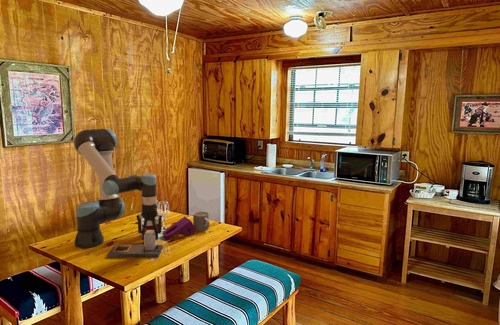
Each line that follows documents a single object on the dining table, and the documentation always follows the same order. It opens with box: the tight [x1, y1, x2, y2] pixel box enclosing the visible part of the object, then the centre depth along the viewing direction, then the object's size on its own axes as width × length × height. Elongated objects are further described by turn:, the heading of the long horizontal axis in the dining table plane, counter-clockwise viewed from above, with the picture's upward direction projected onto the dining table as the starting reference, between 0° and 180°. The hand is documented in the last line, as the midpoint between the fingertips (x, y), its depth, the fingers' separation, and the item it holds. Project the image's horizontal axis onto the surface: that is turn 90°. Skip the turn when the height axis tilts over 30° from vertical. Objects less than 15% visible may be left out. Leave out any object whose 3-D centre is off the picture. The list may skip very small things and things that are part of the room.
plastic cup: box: [141, 217, 159, 242], centre depth 201 cm, size 11×11×12 cm
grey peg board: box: [107, 244, 164, 258], centre depth 185 cm, size 26×12×2 cm, turn 93°
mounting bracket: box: [162, 216, 195, 240], centre depth 211 cm, size 10×8×18 cm
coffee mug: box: [192, 211, 210, 232], centre depth 221 cm, size 13×10×10 cm
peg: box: [145, 230, 156, 252], centre depth 184 cm, size 4×4×12 cm
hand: (150, 245), depth 184 cm, fingers closed on peg, 4 cm apart
